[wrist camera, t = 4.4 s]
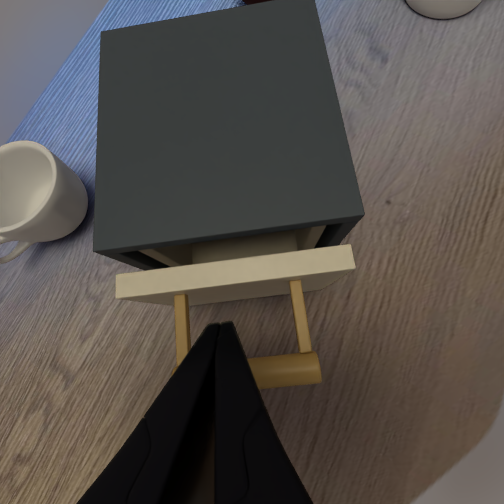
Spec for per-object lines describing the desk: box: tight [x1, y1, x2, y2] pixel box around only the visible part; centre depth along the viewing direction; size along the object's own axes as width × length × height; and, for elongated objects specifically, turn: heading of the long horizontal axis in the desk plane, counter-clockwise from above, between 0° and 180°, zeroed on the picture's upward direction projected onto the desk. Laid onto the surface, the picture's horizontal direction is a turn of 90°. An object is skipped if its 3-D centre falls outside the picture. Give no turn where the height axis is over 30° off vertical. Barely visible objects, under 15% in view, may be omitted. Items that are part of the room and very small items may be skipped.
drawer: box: [116, 225, 356, 389], centre depth 18 cm, size 17×11×9 cm, turn 7°
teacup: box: [0, 141, 88, 264], centre depth 23 cm, size 10×8×5 cm
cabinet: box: [93, 0, 365, 271], centre depth 19 cm, size 14×13×11 cm
